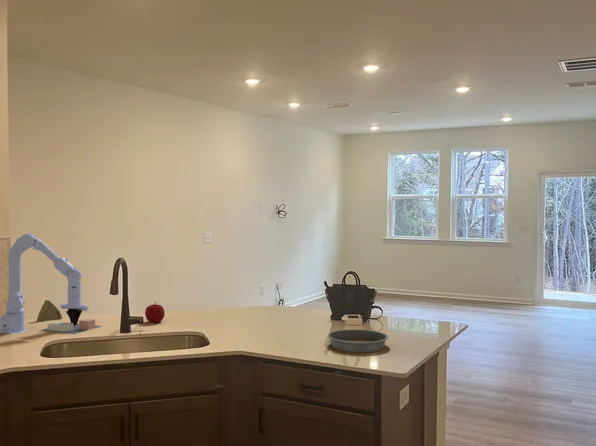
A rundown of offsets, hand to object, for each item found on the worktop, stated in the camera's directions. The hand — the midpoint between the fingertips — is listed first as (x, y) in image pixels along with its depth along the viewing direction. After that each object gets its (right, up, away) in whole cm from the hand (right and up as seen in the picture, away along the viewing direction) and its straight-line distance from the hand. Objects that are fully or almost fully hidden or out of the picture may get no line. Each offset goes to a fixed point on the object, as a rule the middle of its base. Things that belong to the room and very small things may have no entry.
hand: (74, 325), depth 256 cm
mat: (-1, -2, -1) cm, 2 cm away
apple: (+33, -2, +17) cm, 37 cm away
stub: (+7, -1, -3) cm, 7 cm away
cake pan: (+127, -4, -28) cm, 130 cm away
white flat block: (-4, -1, -4) cm, 6 cm away
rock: (-19, -1, +19) cm, 27 cm away
